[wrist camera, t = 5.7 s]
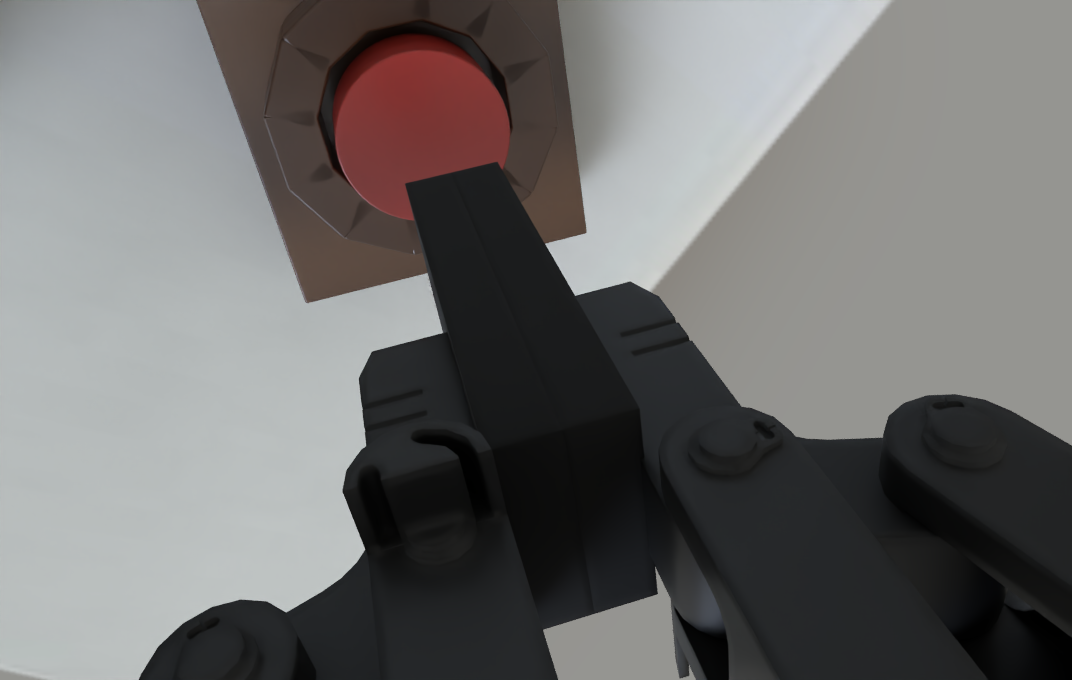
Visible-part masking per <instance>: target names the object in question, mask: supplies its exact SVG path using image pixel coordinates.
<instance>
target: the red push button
mask: <svg viewBox="0 0 1072 680" xmlns="http://www.w3.org/2000/svg"><path fill="white" fill-rule="evenodd" d="M332 117H333V128H334V136H335V145H336V151H337V156H338V160H339V163H340V165H341V168H342V171H343V172H344V174H345V176H346V178H347V180H348V181H349V183H350V184H351V186H352V187H353V188H354V190H355V191H356V192H357V193H358V194H359V195H360V196H361V197H362V198H363V199H364V200H366V201H367V202H368V203H369V204H371V205H372V206H374V207H375V208H377V209H379V210H380V211H382V212H385V213H387V214H389V215H392V216H395V217H398V218H402V219H407V220H414V217H413V213H412V210H411V206H410V202H409V198H408V194H407V190H406V186H405V183H409V182H413V181H418V180H422V179H426V178H430V177H434V176H439V175H443V174H447V173H451V172H455V171H460V170H464V169H468V168H472V167H477V166H481V165H485V164H489V163H493V162H498V164H499V165H500V167H501V169H502V170H503V167H504V165H505V162H506V159H507V156H508V151H509V145H510V125H509V118H508V114H507V110H506V107H505V105H504V102H503V99H502V98H501V96H500V94H499V92H498V90H497V89H496V87H495V86H494V85H493V83H492V82H491V81H490V79H489V78H488V76H487V75H486V74H485V72H484V71H483V70H482V68H481V67H480V66H479V64H478V63H477V62H476V61H475V60H474V59H473V58H472V57H471V56H470V55H469V54H468V53H467V52H466V51H464V50H463V49H462V48H460V47H459V46H457V45H455V44H454V43H452V42H450V41H448V40H445V39H443V38H440V37H437V36H433V35H428V34H420V33H407V34H400V35H395V36H391V37H388V38H385V39H383V40H380V41H378V42H376V43H374V44H372V45H371V46H369V47H368V48H366V49H365V50H364V51H362V52H361V53H360V54H359V55H358V56H357V57H356V58H355V59H354V60H353V61H352V62H351V63H350V64H349V66H348V67H347V69H346V70H345V72H344V73H343V75H342V77H341V79H340V81H339V83H338V86H337V89H336V92H335V96H334V101H333V113H332Z"/></svg>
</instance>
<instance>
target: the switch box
mask: <svg viewBox="0 0 1072 680" xmlns="http://www.w3.org/2000/svg"><path fill="white" fill-rule="evenodd" d="M196 1H197V4H198V7H199V9H200V12H201V15H202V18H203V20H204V23H205V26H206V29H207V31H208V34H209V37H210V40H211V42H212V45H213V48H214V51H215V54H216V56H217V59H218V62H219V65H220V67H221V70H222V73H223V76H224V78H225V81H226V84H227V87H228V89H229V92H230V95H231V98H232V100H233V103H234V106H235V109H236V112H237V114H238V117H239V120H240V123H241V125H242V128H243V131H244V134H245V136H246V139H247V142H248V145H249V147H250V150H251V153H252V156H253V158H254V161H255V164H256V167H257V170H258V172H259V175H260V178H261V181H262V183H263V186H264V189H265V192H266V194H267V197H268V200H269V203H270V205H271V208H272V211H273V214H274V217H275V219H276V222H277V225H278V228H279V230H280V233H281V236H282V239H283V241H284V244H285V247H286V250H287V252H288V255H289V258H290V261H291V263H292V266H293V269H294V272H295V275H296V277H297V280H298V283H299V286H300V288H301V291H302V294H303V297H304V299H305V302H306V303H309V302H313V301H317V300H321V299H325V298H329V297H333V296H337V295H341V294H345V293H349V292H353V291H357V290H361V289H365V288H369V287H373V286H377V285H381V284H385V283H389V282H393V281H397V280H401V279H405V278H409V277H413V276H417V275H421V274H425V273H428V272H427V268H426V264H425V260H424V256H423V252H422V248H421V245H420V241H419V237H418V233H417V229H416V225H415V221H414V220H407V219H402V218H398V217H395V216H392V215H389V214H387V213H385V212H382V211H380V210H379V209H377V208H375V207H374V206H372V205H371V204H369V203H368V202H367V201H366V200H364V199H363V198H362V197H361V196H360V195H359V194H358V193H357V192H356V191H355V190H354V188H353V187H352V186H351V184H350V183H349V181H348V180H347V178H346V176H345V174H344V172H343V171H342V168H341V165H340V163H339V160H338V156H337V151H336V145H335V136H334V128H333V117H332V113H333V101H334V96H335V92H336V89H337V86H338V83H339V81H340V79H341V77H342V75H343V73H344V72H345V70H346V69H347V67H348V66H349V64H350V63H351V62H352V61H353V60H354V59H355V58H356V57H357V56H358V55H359V54H360V53H361V52H362V51H364V50H365V49H366V48H368V47H369V46H371V45H372V44H374V43H376V42H378V41H380V40H383V39H385V38H388V37H391V36H395V35H400V34H407V33H420V34H428V35H433V36H437V37H440V38H443V39H445V40H448V41H450V42H452V43H454V44H455V45H457V46H459V47H460V48H462V49H463V50H464V51H466V52H467V53H468V54H469V55H470V56H471V57H472V58H473V59H474V60H475V61H476V62H477V63H478V64H479V66H480V67H481V68H482V70H483V71H484V72H485V74H486V75H487V76H488V78H489V79H490V81H491V82H492V83H493V85H494V86H495V87H496V89H497V90H498V92H499V94H500V96H501V98H502V99H503V102H504V105H505V107H506V110H507V114H508V118H509V125H510V145H509V151H508V156H507V159H506V162H505V165H504V167H503V172H504V174H505V176H506V177H507V179H508V181H509V183H510V184H511V186H512V188H513V189H514V191H515V193H516V195H517V196H518V198H519V200H520V202H521V203H522V205H523V207H524V209H525V210H526V212H527V214H528V215H529V217H530V219H531V221H532V222H533V224H534V226H535V228H536V229H537V231H538V233H539V235H540V236H541V238H542V240H543V241H544V243H549V242H553V241H557V240H561V239H565V238H569V237H573V236H577V235H581V234H585V233H586V223H585V215H584V207H583V200H582V192H581V184H580V176H579V168H578V160H577V153H576V145H575V137H574V129H573V121H572V113H571V106H570V98H569V90H568V82H567V74H566V66H565V58H564V51H563V43H562V35H561V27H560V19H559V11H558V4H557V0H196Z"/></svg>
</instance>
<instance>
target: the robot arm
mask: <svg viewBox="0 0 1072 680" xmlns="http://www.w3.org/2000/svg"><path fill="white" fill-rule="evenodd" d="M405 186H406V190H407V194H408V198H409V202H410V206H411V210H412V213H413V217H414V221H415V225H416V229H417V233H418V237H419V241H420V245H421V248H422V252H423V256H424V260H425V264H426V268H427V272H428V276H429V280H430V283H431V287H432V291H433V295H434V299H435V303H436V307H437V311H438V315H439V319H440V322H441V326H442V330H443V333H442V334H438V335H434V336H430V337H426V338H423V339H419V340H415V341H411V342H407V343H403V344H400V345H396V346H392V347H388V348H384V349H380V350H377V351H373V352H372V353H371V355H370V357H369V359H368V361H367V363H366V365H365V367H364V369H363V371H362V373H361V375H360V377H359V385H360V394H361V402H362V407H363V410H362V411H363V420H364V428H365V431H366V432H365V438H366V447H365V448H363V449H362V450H361V451H360V452H359V454H358V455H357V456H356V458H355V459H354V461H353V462H352V463H351V465H350V466H349V468H348V469H347V471H346V476H345V481H344V486H343V494H344V496H345V499H346V501H347V504H348V507H349V509H350V512H351V514H352V517H353V519H354V522H355V524H356V527H357V529H358V532H359V534H360V537H361V539H362V542H363V544H364V547H365V551H364V553H363V554H362V556H361V557H360V559H359V560H358V562H357V563H356V564H355V565H354V566H353V567H352V568H351V569H350V570H349V571H348V572H347V573H346V574H345V575H344V576H343V577H342V578H341V579H340V580H338V581H337V582H335V583H334V584H333V585H331V586H330V587H328V588H327V589H325V590H324V591H323V592H321V593H319V594H318V595H316V596H314V597H312V598H311V599H309V600H307V601H306V602H304V603H302V604H300V605H299V606H297V607H295V608H294V609H292V610H290V611H288V612H287V613H286V612H284V611H282V610H281V609H279V608H277V607H275V606H274V605H272V604H270V603H268V602H266V601H252V600H238V601H234V602H230V603H226V604H222V605H219V606H215V607H211V608H210V609H208V610H206V611H204V612H203V613H201V614H199V615H197V616H195V617H194V618H192V619H190V620H188V621H187V622H185V623H183V624H182V625H181V626H180V627H179V628H178V629H177V630H176V631H175V632H173V633H172V634H171V635H170V636H169V637H168V638H167V639H166V640H165V641H164V642H163V643H162V644H161V645H160V646H158V648H157V650H156V651H155V653H154V654H153V656H152V658H151V659H150V661H149V663H148V664H147V666H146V667H145V669H144V671H143V672H142V674H141V676H140V678H139V680H558V678H557V674H556V671H555V668H554V665H553V661H552V658H551V655H550V652H549V648H548V645H547V642H546V639H545V635H544V632H543V629H546V628H550V627H553V626H556V625H559V624H563V623H566V622H569V621H572V620H576V619H579V618H582V617H585V616H589V615H592V614H595V613H598V612H602V611H605V610H608V609H611V608H614V607H617V606H621V605H624V604H627V603H631V602H634V601H637V600H640V599H644V598H647V597H650V596H653V595H656V594H658V592H657V582H656V573H655V567H656V569H657V571H658V573H659V575H660V577H661V579H662V581H663V583H664V586H665V588H666V590H667V592H668V594H669V596H670V598H671V608H672V620H673V633H674V644H675V657H676V663H677V668H678V672H679V677H680V678H683V677H686V676H689V665H690V667H691V670H692V672H693V674H694V676H695V678H696V680H1072V446H1071V445H1069V444H1068V443H1066V442H1064V441H1063V440H1061V439H1059V438H1058V437H1056V436H1054V435H1052V434H1051V433H1049V432H1047V431H1045V430H1044V429H1042V428H1040V427H1038V426H1036V425H1035V424H1033V423H1031V422H1029V421H1028V420H1026V419H1024V418H1023V417H1021V416H1019V415H1017V414H1016V413H1014V412H1012V411H1010V410H1008V409H1005V408H1003V407H1001V406H998V405H996V404H993V403H991V402H989V401H986V400H983V399H978V398H972V397H967V396H961V395H955V394H954V395H953V394H952V395H929V396H924V397H921V398H918V399H915V400H912V401H909V402H906V403H904V404H902V405H901V406H900V407H899V408H898V409H896V410H895V411H894V412H893V413H892V414H891V415H889V417H888V420H887V424H886V427H885V431H884V434H883V438H865V439H838V440H822V439H821V440H820V439H805V438H800V437H795V436H794V434H793V433H792V432H791V431H790V430H789V429H788V428H786V427H785V426H784V425H783V424H782V423H781V422H779V421H778V420H777V419H776V418H775V417H773V416H770V415H767V414H765V413H762V412H760V411H757V410H755V409H752V408H746V407H741V406H740V404H739V403H738V402H737V400H736V399H735V398H734V396H733V395H732V394H731V393H730V391H729V390H728V388H727V387H726V386H725V384H724V383H723V382H722V380H721V379H720V378H719V376H718V375H717V374H716V372H715V371H714V370H713V368H712V367H711V366H710V364H709V363H708V362H707V360H706V359H705V357H704V356H703V355H702V353H701V352H700V351H699V350H698V348H697V347H696V345H694V343H693V341H690V340H689V337H688V335H687V334H686V332H685V331H684V330H683V328H682V327H681V325H680V324H679V323H676V321H675V317H674V316H673V315H672V313H671V312H670V311H669V309H668V308H667V307H666V305H665V304H664V303H663V302H662V300H661V299H660V297H659V296H657V295H655V294H653V293H651V292H649V291H647V290H645V289H643V288H641V287H640V286H638V285H636V284H634V283H632V282H627V283H623V284H619V285H615V286H612V287H608V288H604V289H600V290H596V291H592V292H589V293H585V294H581V295H577V296H575V295H574V293H573V292H572V290H571V288H570V287H569V285H568V283H567V281H566V280H565V278H564V276H563V274H562V273H561V271H560V269H559V267H558V266H557V264H556V262H555V261H554V259H553V257H552V255H551V254H550V252H549V250H548V248H547V247H546V245H545V243H544V241H543V240H542V238H541V236H540V235H539V233H538V231H537V229H536V228H535V226H534V224H533V222H532V221H531V219H530V217H529V215H528V214H527V212H526V210H525V209H524V207H523V205H522V203H521V202H520V200H519V198H518V196H517V195H516V193H515V191H514V189H513V188H512V186H511V184H510V183H509V181H508V179H507V177H506V176H505V174H504V172H503V170H502V169H501V167H500V165H499V164H498V162H493V163H489V164H485V165H481V166H477V167H472V168H468V169H464V170H460V171H455V172H451V173H447V174H443V175H439V176H434V177H430V178H426V179H422V180H418V181H413V182H409V183H405ZM688 663H689V664H688Z"/></svg>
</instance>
